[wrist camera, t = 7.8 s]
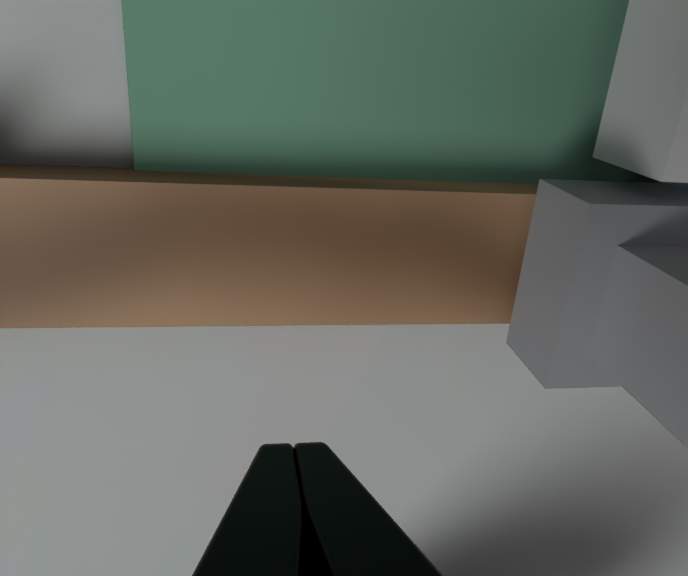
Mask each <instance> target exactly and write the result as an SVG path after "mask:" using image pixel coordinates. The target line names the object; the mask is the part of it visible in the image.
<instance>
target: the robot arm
mask: <svg viewBox="0 0 688 576" xmlns="http://www.w3.org/2000/svg"><path fill="white" fill-rule="evenodd" d="M192 576H443V575H442V574H441V573H440V572H439V571H438V570H437V569H436V567H435V566H434V565H433V564H432V563H431V562H430V561H429V560H428V558H427V557H426V556H425V555H424V554H423V553H422V552H421V550H420V549H419V548H418V547H417V546H416V545H415V544H414V543H413V541H412V540H411V539H410V538H409V537H408V536H407V535H406V534H405V532H404V531H403V530H402V529H401V528H400V527H399V526H398V525H397V523H396V522H395V521H394V520H393V519H392V518H391V517H390V516H389V514H388V513H387V512H386V511H385V510H384V509H383V508H382V506H381V505H380V504H379V503H378V502H377V501H376V500H375V499H374V497H373V496H372V495H371V494H370V493H369V492H368V491H367V490H366V488H365V487H364V486H363V485H362V484H361V483H360V482H359V481H358V479H357V478H356V477H355V476H354V475H353V474H352V473H351V471H350V470H349V469H348V468H347V467H346V466H345V465H344V464H343V462H342V461H341V460H340V459H339V458H338V457H337V456H336V455H335V453H334V452H333V451H332V450H331V449H330V448H329V447H328V446H327V445H326V444H325V443H323V442H310V443H297V444H296V445H295V446H294V448H293V447H292V445H291V444H288V443H281V444H264V445H262V446H261V447H260V448H259V450H258V452H257V454H256V456H255V457H254V459H253V461H252V463H251V465H250V467H249V469H248V471H247V473H246V475H245V476H244V478H243V480H242V482H241V484H240V486H239V488H238V490H237V492H236V493H235V495H234V497H233V499H232V501H231V503H230V505H229V507H228V509H227V511H226V512H225V514H224V516H223V518H222V520H221V522H220V524H219V526H218V528H217V529H216V531H215V533H214V535H213V537H212V539H211V541H210V543H209V545H208V546H207V548H206V550H205V552H204V554H203V556H202V558H201V560H200V562H199V564H198V565H197V567H196V569H195V571H194V573H193V575H192Z"/></svg>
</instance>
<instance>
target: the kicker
mask: <svg viewBox="0 0 688 576" xmlns="http://www.w3.org/2000/svg"><path fill="white" fill-rule="evenodd" d="M593 157H594V158H596V159H599V160H602V161H605V162H608V163H610V164H613V165H616V166H619V167H621V168H624V169H627V170H630V171H632V172H635V173H638V174H641V175H644V176H646V177H649V178H652V179H655V180H657V181H660V182H680V183H688V0H629V4H628V8H627V12H626V17H625V21H624V25H623V29H622V34H621V38H620V42H619V46H618V51H617V55H616V59H615V63H614V68H613V72H612V76H611V80H610V85H609V89H608V93H607V97H606V102H605V106H604V110H603V114H602V119H601V123H600V127H599V131H598V136H597V140H596V144H595V148H594V153H593ZM506 343H507V344H508V345H509V346H510V348H511V349H512V350H513V351H514V352H515V354H516V355H517V356H518V357H519V358H520V360H521V361H522V362H523V363H524V364H525V365H526V367H527V368H528V369H529V370H530V371H531V373H532V374H533V375H534V376H535V377H536V379H537V380H538V381H539V382H540V383H541V385H542V386H543V387H544V388H545V389H547V388H581V387H614V386H622V387H623V388H624V389H625V390H626V391H627V392H628V393H630V394H631V395H632V396H633V397H634V398H635V399H636V400H637V401H638V402H639V403H640V404H641V405H642V406H643V407H644V408H645V409H646V410H648V411H649V412H650V413H651V414H652V415H653V416H654V417H655V418H656V419H657V420H658V421H659V422H660V423H661V424H662V425H663V426H665V427H666V428H667V429H668V430H669V431H670V432H671V433H672V434H673V435H674V436H675V437H676V438H677V439H678V440H679V441H680V442H682V443H683V444H684V445H685V446H686V447H687V448H688V191H686V190H683V189H680V188H677V187H675V186H672V185H669V184H666V183H643V182H615V181H587V180H559V179H539V184H538V189H537V194H536V199H535V204H534V208H533V213H532V218H531V223H530V228H529V233H528V238H527V243H526V248H525V253H524V258H523V263H522V268H521V273H520V278H519V283H518V288H517V292H516V297H515V302H514V307H513V312H512V317H511V322H510V327H509V332H508V337H507V342H506Z"/></svg>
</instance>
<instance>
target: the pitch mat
mask: <svg viewBox="0 0 688 576" xmlns="http://www.w3.org/2000/svg"><path fill="white" fill-rule="evenodd" d="M628 4H629V0H122V13H123V26H124V40H125V53H126V67H127V80H128V94H129V107H130V121H131V134H132V148H133V161H134V170H137V171H167V172H196V173H226V174H255V175H285V176H315V177H344V178H374V179H403V180H433V181H463V182H492V183H522V184H539V179H559V180H587V181H615V182H643V183H664V182H660V181H657V180H655V179H652V178H649V177H646V176H644V175H641V174H638V173H635V172H632V171H630V170H627V169H624V168H621V167H619V166H616V165H613V164H610V163H608V162H605V161H602V160H599V159H596V158H594V157H593V153H594V148H595V144H596V140H597V136H598V131H599V127H600V123H601V119H602V114H603V110H604V106H605V102H606V97H607V93H608V89H609V85H610V80H611V76H612V72H613V68H614V63H615V59H616V55H617V51H618V46H619V42H620V38H621V34H622V29H623V25H624V21H625V17H626V12H627V8H628Z"/></svg>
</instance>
